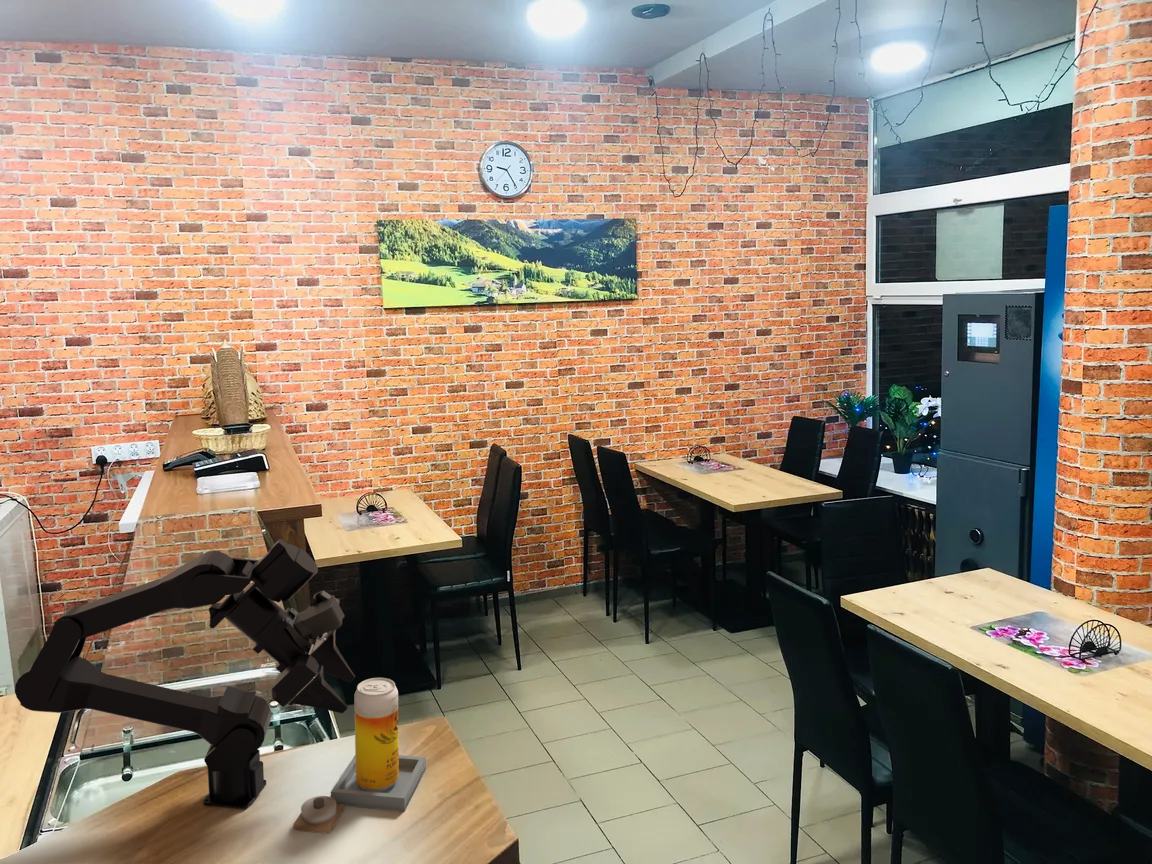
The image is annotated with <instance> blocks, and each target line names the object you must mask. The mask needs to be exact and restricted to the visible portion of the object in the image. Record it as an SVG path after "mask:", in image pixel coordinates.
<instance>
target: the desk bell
mask: <svg viewBox="0 0 1152 864" xmlns="http://www.w3.org/2000/svg"><path fill="white" fill-rule="evenodd" d="M344 808H345V806H344V805H342V804H336V801H335V800H334V799H333V798H331V796H327V795H317V796H314V797H311V798H309V799H307V800H306V801H304V802H303V803H302V804H301V806H300V812H299V813H300V814H299V815H298V816H297V818H296V819H295V821H294V822H293V830H294V831H300V832H307V833H308V832H309V833H310V832H312V833H320V834H331V833H332V831H333V830H334V828H335V827H336V825H337V823H338V821H339V819H341V817H342V815H343V813H344V812H345V811H344V810H345V809H344Z"/></svg>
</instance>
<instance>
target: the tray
mask: <svg viewBox="0 0 1152 864" xmlns="http://www.w3.org/2000/svg"><path fill="white" fill-rule="evenodd" d="M426 762H427V758H426V757H425V756H415V755H414V756H413V755H405V754H404V755H403V754H401V755H400V754H399V777H398V779H397V781H396V782H395V783H394V785H393V786H392V787H391V788H389V789H387V790H384V791H381V792H369V791H365V790H363V789H362V788H361V787H360V785H358V783H357V782H356V758H355V755H354V756H353V757H352V759H351V761H349V763H348V765H347V767H346V768H345V769H344V771H343V773H342V775H341V776H340V777H339V778H338V780H337V782H336V783H335V784H334V785H333V788H332V789H331V791H330V797H331V798H333V799H334V800H335V801H336V804H342V805H344V807H350V808H351V807H353V808H365V809H374V810H375V809H376V810H387V811H396V812H397V811H398V812H399V811H400V812H406V810H407V808H408V806H409V804H410V802H411V800H412V797H414V793H415V792H416V790H417V788H418V786H419V784H420V781H421V780H422V778H423V776H424V774H425V772H426V770H425V769H427V763H426ZM424 771H425V772H424ZM423 773H424V774H423ZM422 775H423V776H422ZM421 777H422V778H421ZM420 779H421V780H420Z"/></svg>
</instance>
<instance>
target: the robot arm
mask: <svg viewBox="0 0 1152 864" xmlns="http://www.w3.org/2000/svg"><path fill="white" fill-rule="evenodd" d="M318 571H319V568H318V566H317V563H316V562H315V561H314V559H313V558H312V557H311V556H310V554H309V553H308V552H306V551H305V550H304V549H303V548H299V547H297V546H296V545H294V544H291V543H287V542H286V541H285V540H283V539H282V538H279V539H278V540H276V542H275V543H273V546H272V547H271V549H269V551H268V552H266V553H265V555H264V556H263V557H262V558H260V559H250V558H240V557H231V556H229V555H228V554H226V553H225V552H222V551H221V550H210V551H206V552H204V553H201V554H200V555H198V556H197V557H195V558H193V559H191V560H189V561H188V562H186V563H184V564H183V565H181V566H179V567H178V568H176V569H175V570H173V571H171V572H169V573H168V574H166V575H165V576H162V577H160V578H157V579H154V580H151V581H148V582H145V583H143V584H140V585H137V586H134V587H131V588H128V589H125V590H121V591H120V592H116V593H114V594H111V595H108V596H105V597H102V598H100V599H97V600H96V599H95V600H94V601H93V600H92V601H91V602H88V603H85V604H82V605H74V606H71V607H69V608H68V609H66V610H65V611H64V612H63V613H62V614H61V615H60V616H58V618H57V619H55V621H54V622H53V625H52V628H51V631H50V633H49V636H48V637H47V639H46V641H45V643H44V644H43V646H42V648H41V649H40V651H39V653H38V654H37V656H36V658H35V660H34V661H33V663H32V664H31V665H30V667H28V668H27V670H25V671H24V672H23V674H21V675H20V677H18V679H17V681H16V683H15V686H14V693H15V696H16V697H15V698H17V700H18V702H19V703H20V706H21V707H23V708H24V709H25V710H29V711H32V712H40V713H41V712H42V713H57V714H58V713H59V714H62V713H68V712H74V711H80V710H92V711H96V712H101V713H104V714H105V713H106V714H111V715H116V716H120V717H124V718H128V719H133V720H137V721H141V722H147V723H151V724H155V725H160V726H164V727H169V728H174V729H176V730H177V729H178V730H183V731H187V732H191V733H194V734H197V735H198V736H199V737H201V738H202V739H203V740H205V741H206V743H208V744H209V748H208V750H207V752H206V754H205V757H204V758H203V761H204V763H205V765H206V767H207V779H208V780H207V781H208V782H207V783H208V785H207V786H208V795H206V797H204V799H203V800H202V805H204V806H211V807H222V808H231V809H232V808H233V809H247V808H248V807H249V806H250V805H251V804H252V802H253V801H254V800H255V799H256V798H257V797H258V795H259V794H260V793H261V791H263V789H264V788H265V787H266V785H267V780H266V779H265V775H264V762H263V761H262V760H261V757H260V756H261V754H260V753H261V752H260V749H259V748H261V747H262V745H263V743H264V741H265V738H266V735H267V732H268V728H269V727H270V724H271V720H272V708H271V707H270V704H269V703H268V701H267V700H266V699H265V698H263V697H261V696H258V695H257V691H256V690H253V691H248V690H247V691H246V690H242V689H240V688H237V687H235V686H228V685H227V687H226V688H225V690H224V692H223V693H222V694H223V695H218V696H212V697H211V696H210V697H209V696H207V697H206V696H204V695H198V694H194V693H191V692H185V691H183V690H182V691H181V690H177V689H174V688H169V687H164V686H161V685H160V686H159V685H154V684H151V683H148V682H143V681H138V680H133V679H130V678H126V677H120V676H117V675H113V674H109V673H105V672H103V671H102V670H100V669H99V668H98V667H96V666H95V664H93V663H92V662H90V660H88V659H86V658H84V657H82V656H81V654H82V652H83V650H84V649H85V645H86V643H87V639H88V638H89V637H92V636H95V635H98V634H101V633H104V632H106V631H110V630H112V629H115V628H119V627H120V626H125V625H126V624H129V623H132V622H135V621H138V620H141V619H143V618H146V617H149V616H153V615H155V614H158V613H160V612H161V613H162V612H164V611H168V610H173V609H175V610H176V609H184V610H186V609H187V610H188V609H189V610H190V609H194V608H200V607H206V606H209V608H208V612H209V628H210V629H215V628H216V627H217V626H218V625H219V624H220V623H221V622H222V621H223V620H226V621H227V622H229V623H230V624H231V625H232V626H234V627H235V629H237V630H238V631H239V632H240V633H242V634H243V635H244V636H246V637H247V639H249V640H250V641H251V642H252V643H254V646H253V648H252V650H253V651H254V652H255V653H257V654H258V655H259V654H260V653H261V652H262V651H263V652H264V653H266V654H267V655H268V656H269V657H270V658H271V659H273V661H275V663H277V665H276V666H275V670H276V671H277V672H278V673H280V674H278V675H277V677H276V678H275V680H274V683H273V685H272V687H271V698H272V699H273V700H274V701H275V702H276V703H278V705H280V706H281V707H282V708H284V707H285V706H287V705H288V706H293V705H298V706H304V707H305V706H306V707H310V708H316V709H320V710H325V711H329V712H335V713H339V714H343V713H345V712H346V711H347V710H348V705H347V704H346V702H344V701H343V699H342V698H341V697H340V696H339V695H338V694H337V692H336V691H335V690H334V689H333V688H332V686H330V685H329V684H328V682H327V681H326V680H325V678H324V673H327V674H328V675H331V676H333V677H336V678H338V679H339V680H342V681H345V682H346V683H347V682H348V683H352V682H353V681H354V680H355V678H356V675H355V674H354V672H353V670H352V669H351V668H350V666H349V665H348V662H347V661H346V660H345V658H344V656H343V655H342V654H341V652H340V650H339V648H338V647H337V645H336V632H337V629H339V628H340V627H341V626H342V625H343V619H344V618H345V614H344V612H343V610H342V608H341V607H340V603H341V601H340V599H339V598H336V597H335V595H334V594H333V595H331V594H329V593H328V592H326V591H325V590H320V591H318V592H316V593H314V595H313V597H312V598H311V599H312V600H311V601H312V603H311V604H312V605H309V606H307V608H306V609H304V610H302V611H300V612H299V611H297V610H296V609H295V608H294V607H291V608H290V607H288V608H286V610H285V609H284V608H283V607H281V606H280V605H279V604H278V603H280V602H281V601H283V602H288V601H290V599H291V598H293V596H295V595H296V594H297V593H298V592H299V591H300V590H301V589H302V588H303V587H304V586H305V585H306V584H307V583H308V582H309V581H310V580H312V578H313V577H314V576H315V575H316V574H317V573H318ZM225 596H226V597H225ZM224 598H225V599H224ZM223 599H224V600H223ZM222 600H223V601H222ZM221 601H222V602H221ZM276 602H277V603H276Z"/></svg>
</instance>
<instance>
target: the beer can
mask: <svg viewBox="0 0 1152 864" xmlns="http://www.w3.org/2000/svg"><path fill="white" fill-rule="evenodd" d="M353 697H354V698H353V699H354V701H353V702H354V741H355V742H354V746H355V747H354V749H355V750H354V751H355V754H354V756H355V758H356V782H357V783H358V785H360V787H361V788H362V789H363V790H365V791H369V792H381V791H384V790H387V789H389V788H391V787H392V786H393V785H394V783H395V782H396V781H397V779H398V777H399V755H400V754H399V744H400V742H399V738H400V737H399V691H398V688H397V686H396V683H395V681H393V680H392V679H391V678H386V677H372V678H368V679H365V680H363V681H361V682H360V683H358V684H357V686H356V690H355V693H354V696H353Z"/></svg>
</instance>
